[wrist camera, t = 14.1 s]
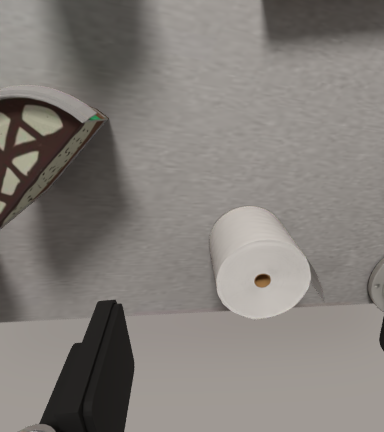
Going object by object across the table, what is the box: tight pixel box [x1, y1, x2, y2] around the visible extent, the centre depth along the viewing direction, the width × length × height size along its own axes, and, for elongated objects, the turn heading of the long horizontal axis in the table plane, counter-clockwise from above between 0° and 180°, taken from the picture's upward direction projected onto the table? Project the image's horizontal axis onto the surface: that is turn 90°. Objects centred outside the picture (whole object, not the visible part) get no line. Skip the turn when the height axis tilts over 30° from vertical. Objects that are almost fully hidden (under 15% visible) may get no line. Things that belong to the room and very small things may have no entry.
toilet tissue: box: [209, 206, 325, 319], centre depth 39 cm, size 11×12×10 cm
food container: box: [0, 85, 109, 229], centre depth 31 cm, size 16×8×13 cm, turn 136°
